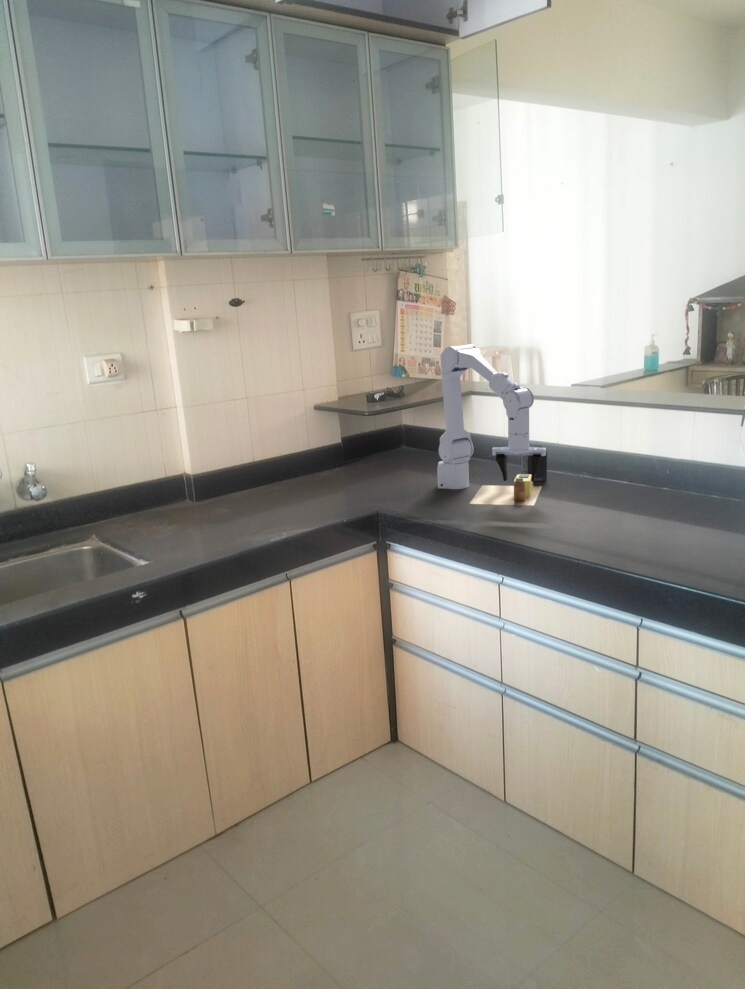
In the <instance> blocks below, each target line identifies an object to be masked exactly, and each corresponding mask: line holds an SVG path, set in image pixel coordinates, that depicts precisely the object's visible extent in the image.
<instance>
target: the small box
mask: <svg viewBox="0 0 745 989" xmlns="http://www.w3.org/2000/svg"><path fill="white" fill-rule="evenodd" d="M529 447H538V448H544V447H543V446H542V444H534V445H533V444H529ZM532 456H533V455H521V474H532V464H531V457H532ZM547 464H548V451H547V450H546V455H545V456H542V457H541V459H540V462H539V464H538V467H537V470H536V474H535V480H534V482H543V481H547V480H548V479H547V478H548V476H547V475H548V474H547V473H548V471H547V470H548V465H547Z"/></svg>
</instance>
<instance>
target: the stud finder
mask: <svg viewBox="0 0 745 989" xmlns="http://www.w3.org/2000/svg"><path fill="white" fill-rule="evenodd" d="M516 478H523V481H525V496H530V495H531V492H532V490H533V486H534V482H531V474H522V473H519V474H516V476H515V478H514V480H513V482H514V481H516Z"/></svg>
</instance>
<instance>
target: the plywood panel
mask: <svg viewBox="0 0 745 989" xmlns="http://www.w3.org/2000/svg"><path fill="white" fill-rule="evenodd" d="M542 487H543V486H542V485H541V486H540V485H539V486H535V485H533V490H532V492H531V495H530V496H525V501H524V502H515V501H514V485H489V484H487V485H486V484H485V485H484V484H483V485H481V487H480V488H479V490H477V492H476V493H475V495H474V496H473V498H472V499H471V500H470V502H469V505H488V506H489V505H491V506H492V505H494V506H496V505H497V506H499V505H500V506H528V507H531V506H532V507H534V506H535V504H536V502H537V500H538V498H539V494H540V492H541V490H542Z"/></svg>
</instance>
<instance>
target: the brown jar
mask: <svg viewBox="0 0 745 989" xmlns="http://www.w3.org/2000/svg"><path fill="white" fill-rule="evenodd" d="M515 478H516V477H515ZM513 486H514V501H515V502H524V501H525V481H523V478H516V481H514V480H513Z"/></svg>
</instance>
